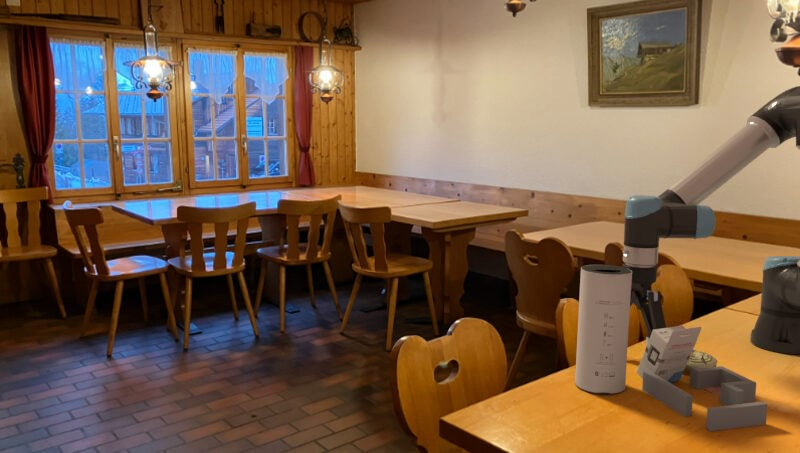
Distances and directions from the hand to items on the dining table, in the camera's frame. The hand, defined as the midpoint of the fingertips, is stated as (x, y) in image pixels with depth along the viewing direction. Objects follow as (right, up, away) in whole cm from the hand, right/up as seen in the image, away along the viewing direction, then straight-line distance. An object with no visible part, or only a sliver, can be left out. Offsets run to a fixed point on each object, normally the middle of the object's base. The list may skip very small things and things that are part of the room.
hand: (633, 354), depth 158 cm
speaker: (-11, -5, -12) cm, 17 cm away
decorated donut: (+13, -4, -1) cm, 13 cm away
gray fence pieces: (+9, -6, -21) cm, 24 cm away
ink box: (+2, -4, -8) cm, 9 cm away
